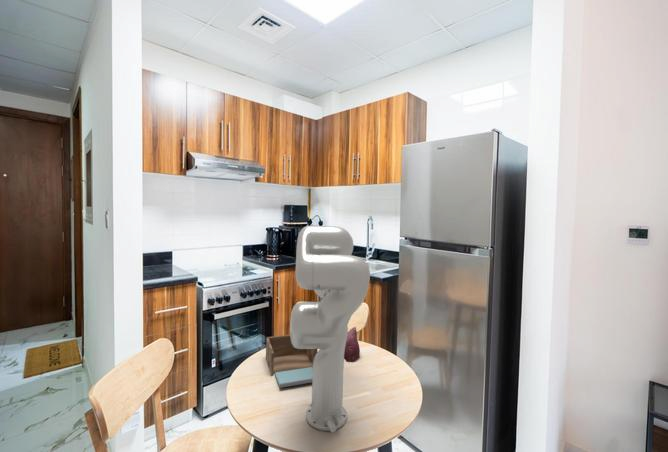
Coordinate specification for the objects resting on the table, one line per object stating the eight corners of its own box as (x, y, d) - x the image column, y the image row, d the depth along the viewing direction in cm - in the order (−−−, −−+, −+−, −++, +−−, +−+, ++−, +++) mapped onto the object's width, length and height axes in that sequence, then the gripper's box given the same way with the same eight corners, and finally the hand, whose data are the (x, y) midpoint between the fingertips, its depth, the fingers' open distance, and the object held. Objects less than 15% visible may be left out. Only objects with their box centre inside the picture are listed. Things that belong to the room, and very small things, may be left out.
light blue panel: (313, 369, 120) (321, 380, 110) (274, 375, 115) (280, 387, 105) (313, 366, 120) (321, 377, 110) (274, 372, 115) (280, 384, 105)
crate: (316, 371, 121) (317, 347, 120) (271, 379, 115) (271, 353, 114) (306, 354, 135) (307, 332, 134) (265, 360, 129) (266, 337, 128)
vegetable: (358, 359, 139) (367, 327, 140) (357, 367, 129) (367, 333, 130) (336, 351, 140) (345, 320, 141) (334, 359, 130) (344, 325, 131)
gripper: (340, 269, 111) (339, 319, 111) (326, 263, 125) (324, 307, 125) (321, 270, 108) (319, 321, 109) (308, 263, 122) (307, 309, 122)
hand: (322, 314), depth 117 cm, fingers closed
